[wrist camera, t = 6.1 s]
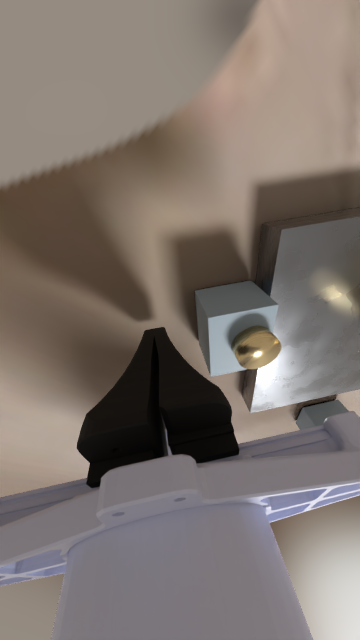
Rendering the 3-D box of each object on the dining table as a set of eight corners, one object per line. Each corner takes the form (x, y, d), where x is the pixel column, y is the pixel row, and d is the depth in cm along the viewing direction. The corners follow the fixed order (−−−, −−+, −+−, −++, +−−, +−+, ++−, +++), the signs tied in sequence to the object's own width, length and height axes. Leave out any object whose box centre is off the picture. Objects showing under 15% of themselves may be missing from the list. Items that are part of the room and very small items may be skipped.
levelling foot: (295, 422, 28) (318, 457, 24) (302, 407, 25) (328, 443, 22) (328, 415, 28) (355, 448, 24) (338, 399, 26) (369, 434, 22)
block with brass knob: (199, 344, 16) (215, 389, 12) (194, 290, 13) (213, 329, 10) (245, 335, 16) (274, 376, 13) (250, 280, 13) (289, 314, 10)
